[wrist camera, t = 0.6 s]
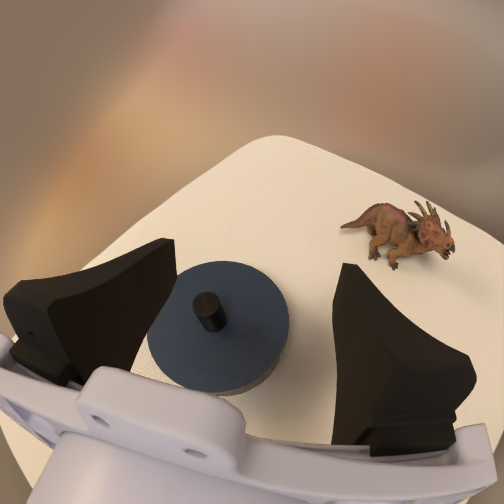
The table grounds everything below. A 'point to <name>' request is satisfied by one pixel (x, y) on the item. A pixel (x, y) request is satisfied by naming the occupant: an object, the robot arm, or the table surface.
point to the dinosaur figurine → (404, 231)
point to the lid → (219, 327)
